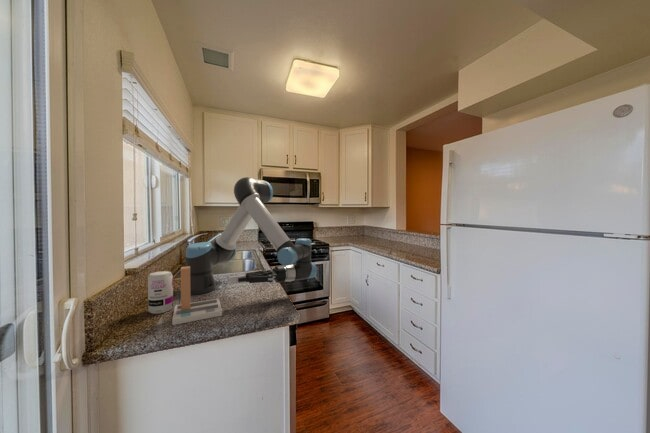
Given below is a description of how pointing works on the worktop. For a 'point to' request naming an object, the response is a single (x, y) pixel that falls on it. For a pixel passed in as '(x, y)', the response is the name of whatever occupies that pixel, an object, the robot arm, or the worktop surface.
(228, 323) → the worktop surface
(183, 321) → the switch base
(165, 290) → the supplement can
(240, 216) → the robot arm
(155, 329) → the worktop surface
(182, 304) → the orange rectangular block
